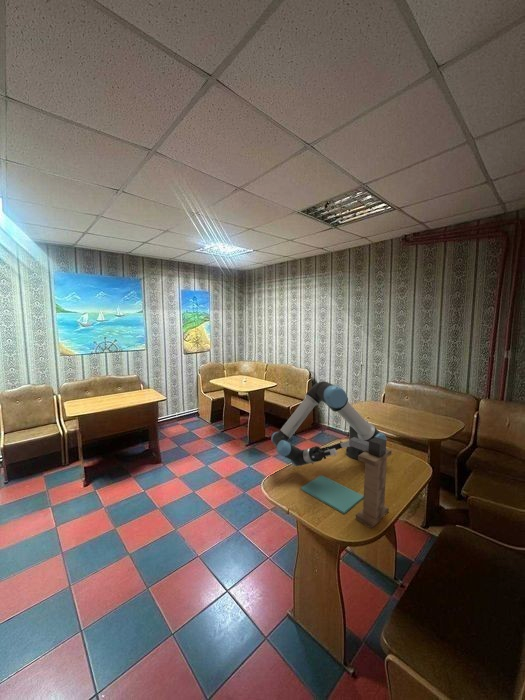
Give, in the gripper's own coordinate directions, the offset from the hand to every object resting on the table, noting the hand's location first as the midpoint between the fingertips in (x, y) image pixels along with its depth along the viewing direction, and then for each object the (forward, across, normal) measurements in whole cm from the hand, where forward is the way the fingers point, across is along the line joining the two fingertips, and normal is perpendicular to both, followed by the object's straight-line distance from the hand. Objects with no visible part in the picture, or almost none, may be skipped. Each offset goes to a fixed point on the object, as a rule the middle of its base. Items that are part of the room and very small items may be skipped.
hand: (343, 447), depth 139 cm
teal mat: (-20, 0, -20) cm, 28 cm away
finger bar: (+11, 0, -4) cm, 12 cm away
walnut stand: (0, 0, -32) cm, 32 cm away
